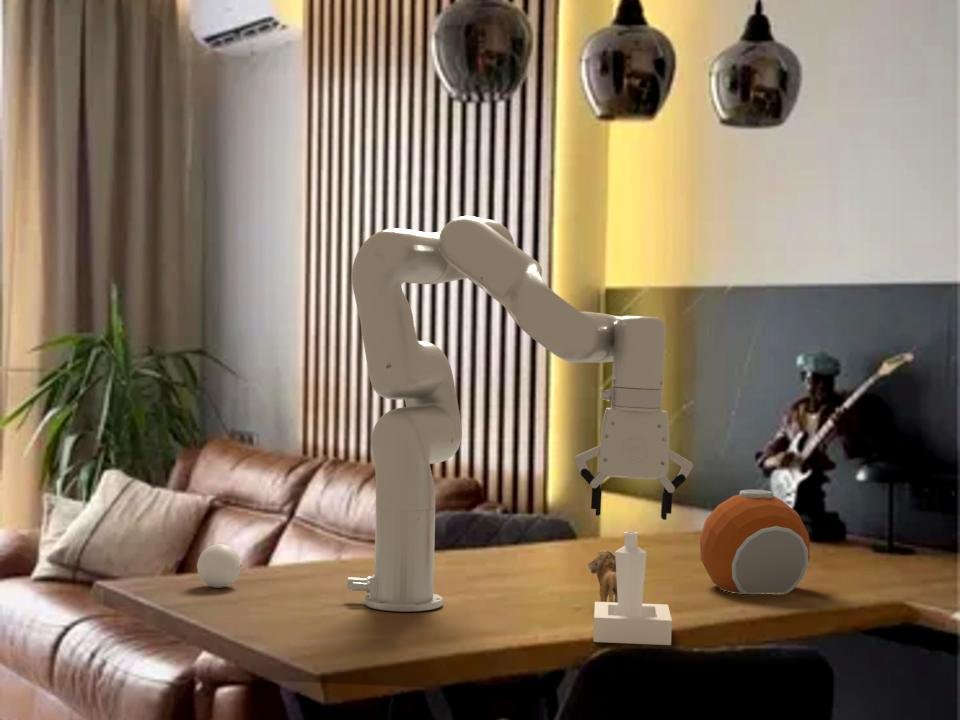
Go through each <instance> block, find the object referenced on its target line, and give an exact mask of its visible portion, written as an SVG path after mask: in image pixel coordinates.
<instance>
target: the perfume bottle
mask: <svg viewBox="0 0 960 720" xmlns="http://www.w3.org/2000/svg"><path fill="white" fill-rule="evenodd" d="M623 535H624V545H623V546H622V547H620V548H619V549H617V550H616V551H615V552H614V554H615V555H614V556H615V557H616V576H617V595H618V614H619V616H638V617H641V613H642V604H643V601H644V600H643V599H644V598H643V597H644V587H645V577H646V574H645V573H646V563H647V555H648V554H647V551H646V550H644V549H642V548H641V547H640V546H638V535H639V532H637V531H624V532H623Z"/></svg>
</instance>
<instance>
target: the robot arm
mask: <svg viewBox="0 0 960 720" xmlns="http://www.w3.org/2000/svg"><path fill="white" fill-rule="evenodd" d="M542 275H543V269H542V266H541V264H540V263H539V262H538V261H537V260H536V259H534V258H533V257H531V256H530V255H529V254H527V253H526V252H525V251H523V250H522V249H521V248H519V247H518V246H517V245H515V241H514V238H513V236H512V234H511V232H510V231H509V230H508V228H507V227H506V226H504V224H503V223H500V222H498V221H496V220H493V219H487V218H482V217H477V216H472V215H471V216H470V215H464V216H458V217H455V218H453V219H452V220H450V221H449V222H447V223H446V224H445V226H444V227H443V228H442V230H441V231H436V232H426V231H425V232H424V231H419V230H414V229H413V230H412V229H408V228H400V227H399V228H397V227H396V228H394V227H393V228H386V229H383V230H380V231H377V232H375V233H374V234H372V235H370V237H368V238H367V239H366V240H365V241H364V242H363V244H362V245H361V246H360V248H359V250H358V251H357V252H356V255H355V257H354V260H353V264H352V270H351V282H352V290H353V295H354V300H355V303H356V306H357V307H356V308H357V312H358V315H359V321H360V328H361V334H362V341H363V346H364V353H365V358H366V363H367V364H366V366H367V371H368V376H369V377H368V378H369V381H370V383H371V387H372V388H373V390H374V392H375V393H376V394H377V395H378V396H380V397H381V398H384V399H387V400H394V401H395V400H397V401H399V400H404V402H405V406H403V407H397V408H394V409H391V410H388V411H387V412H386V413H384V414H382V415H381V416H380V417H379V418H378V420H377V422H375V424H374V427H373V430H372V434H371V451H372V458H373V459H372V460H373V463H374V464H373V465H374V470H375V471H374V473H375V475H374V476H375V528H374V529H375V530H374V531H375V533H374V535H375V537H374V539H375V541H374V542H375V543H374V573H373V575H372V576H367V578H360V577H348V578H347V583H346V584H347V585H346V586H347V590H352V591H353V592H361V591H363V592H364V591H365V592H366V593H369V594H366V595H365V596H364V597H363V598H364V599H363V600H364V601H363V604H364V605H365V606H366V607H368V608H370V609H373V610H374V609H375V610H379V611H387V612H400V613H401V612H409V613H410V612H424V611H431V610H435V609H439V608H441V607H442V606H443V604H444V597H442V596H441V595H439V594H437V593H434V583H435V582H434V580H435V578H434V577H435V575H434V573H435V543H436V542H435V537H436V535H435V534H436V533H435V532H436V531H435V530H436V487H435V480H434V476H433V473H432V469H431V465H432V464H439V463H442V462H445V461H447V460H449V459H451V458H452V457H453V456H454V455H455V454H456V453H457V452H458V450H459V448H460V446H461V442H462V437H463V433H462V432H463V429H462V420H461V415H460V409H459V403H458V397H457V392H456V385H455V381H454V375H453V371H452V368H451V367H452V366H451V364H450V361H449V359H448V358H447V356H446V354H445V353H444V352H443V350H441V349H440V347H438V346H437V345H435V344H433V343H431V342H429V341H425V340H424V341H423V340H418V337H417V333H416V328H415V324H414V323H415V322H414V316H413V315H414V314H413V312H412V308H411V305H410V303H409V301H408V299H407V297H406V295H405V293H404V291H403V287H402V285H403V284H404V283H407V284H419V285H438V284H443V283H449V282H454V281H459V280H464V279H465V280H466V279H468V280H469V281H471V282H472V283H473V284H475V286H477V287H478V288H480V289H481V290H483V292H485V293H486V294H487V295H489V296H490V297H491V298H493V299H494V300H496V301H497V303H499V304H500V305H502V306H503V307H504V308H505V309H506V311H507V313H508V314H509V316H510V317H511V318H512V320H513V321H514V323H516V325H518V327H519V328H520V329H521V330H522V331H524V332H525V333H526V334H527V335H528V336H529V337H531V339H533V340H535V342H537V343H538V344H540V345H541V346H542V347H543V348H545V349H546V350H547V351H549V352H550V353H551V354H552V355H554V356H556V357H557V358H560V359H561V360H563V361H566V362H568V363H572V364H582V363H583V364H585V363H586V364H588V363H589V364H599V363H612V374H611V388H609V389H606V390H601V395H600V396H601V400H603V401H607V402H608V403H610V407H606V408H605V410H604V413H603V418H602V424H601V430H600V439H599V445H597V446H595V447H593V448H590V449H588V450H586V451H583V452H581V453H580V454H577V455H576V456H574V462H575V464H576V467H577V469H578V471H579V473H580V476H581V477H582V478H583V479H584V480H585V481H586V482H587V484H588V485H589V486H590V487H591V502H590V503H591V505H590V509H592V510H595V516H598V517H599V516H601V513H602V511H601V510H602V507H601V506H602V487H601V484H602V483H603V482H604V481H605V480H606V479H607V477H609V478H622V479H623V478H624V479H635V480H636V479H637V480H658V481H659V482H660V484H661V485H662V486H663V490H662V491H661V505H660V506H661V507H660V518H661V519H662V520H664V521H666V520H667V516H668V515H669V514H670V515H671V514H672V508H673V507H672V504H673V493H674V492H675V490H677V489H678V488H679V487H680V486H681V485H682V484H684V483H685V482H686V479H687V478H688V476H689V475H690V473H691V471H692V469H693V467H694V464H693V462H692V461H690V460H688V459H686V458H685V457H683V456H682V455H680V454H678V453H676V452H674V451H672V450H671V449H670V425H669V424H670V423H669V417H668V411H667V410H663V399H664V398H663V395H664V375H665V359H666V343H667V342H666V341H667V340H666V339H667V326H666V323H665V321H664V320H663V319H662V318H659V317H656V316H643V315H623V316H617V315H612V314H608V313H603V312H592V311H581V310H579V309H577V308H576V307H575V306H573V305H571V304H570V303H569V302H568V301H566V300H565V299H564V298H562V297H561V296H559V295H558V294H557V293H556V292H555V291H554V290H552V289H551V287H549V286H548V285H547V284H546V283H545V282H544V280H543V278H542V277H543V276H542ZM596 457H598V472H597V473H596V474H595V475H594V474H593V472H591V471H590V470H589V468H588V466H587V464H586V462H587V461H589V460H592V459H594V458H596ZM670 461H671V462H673V463H675V464H676V465H678V466H680V470H679V473H678V474H677V475H675V476H674V477H673V479H671V480H670V478H669V477H668V473H669V467H670ZM667 514H668V515H667Z"/></svg>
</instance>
